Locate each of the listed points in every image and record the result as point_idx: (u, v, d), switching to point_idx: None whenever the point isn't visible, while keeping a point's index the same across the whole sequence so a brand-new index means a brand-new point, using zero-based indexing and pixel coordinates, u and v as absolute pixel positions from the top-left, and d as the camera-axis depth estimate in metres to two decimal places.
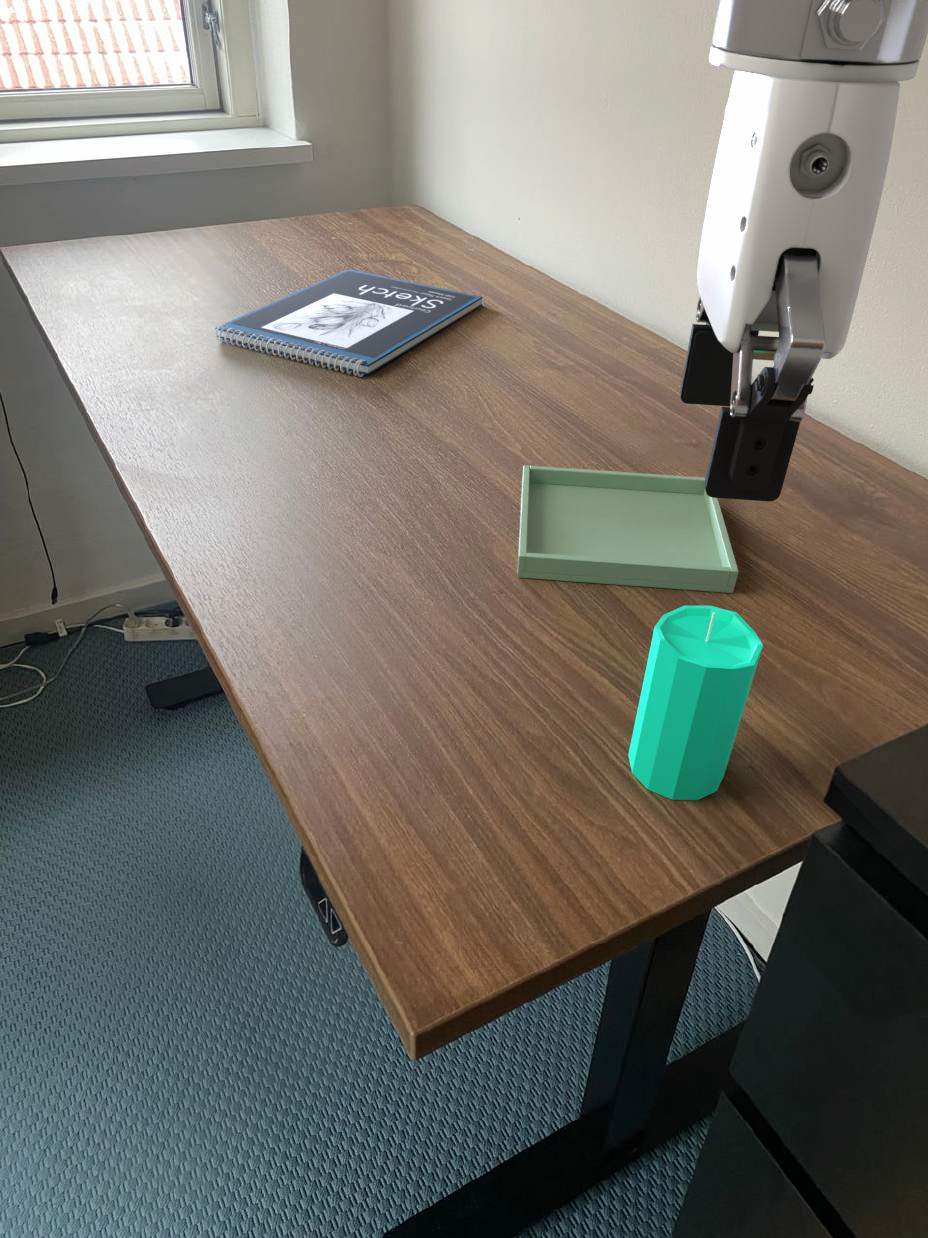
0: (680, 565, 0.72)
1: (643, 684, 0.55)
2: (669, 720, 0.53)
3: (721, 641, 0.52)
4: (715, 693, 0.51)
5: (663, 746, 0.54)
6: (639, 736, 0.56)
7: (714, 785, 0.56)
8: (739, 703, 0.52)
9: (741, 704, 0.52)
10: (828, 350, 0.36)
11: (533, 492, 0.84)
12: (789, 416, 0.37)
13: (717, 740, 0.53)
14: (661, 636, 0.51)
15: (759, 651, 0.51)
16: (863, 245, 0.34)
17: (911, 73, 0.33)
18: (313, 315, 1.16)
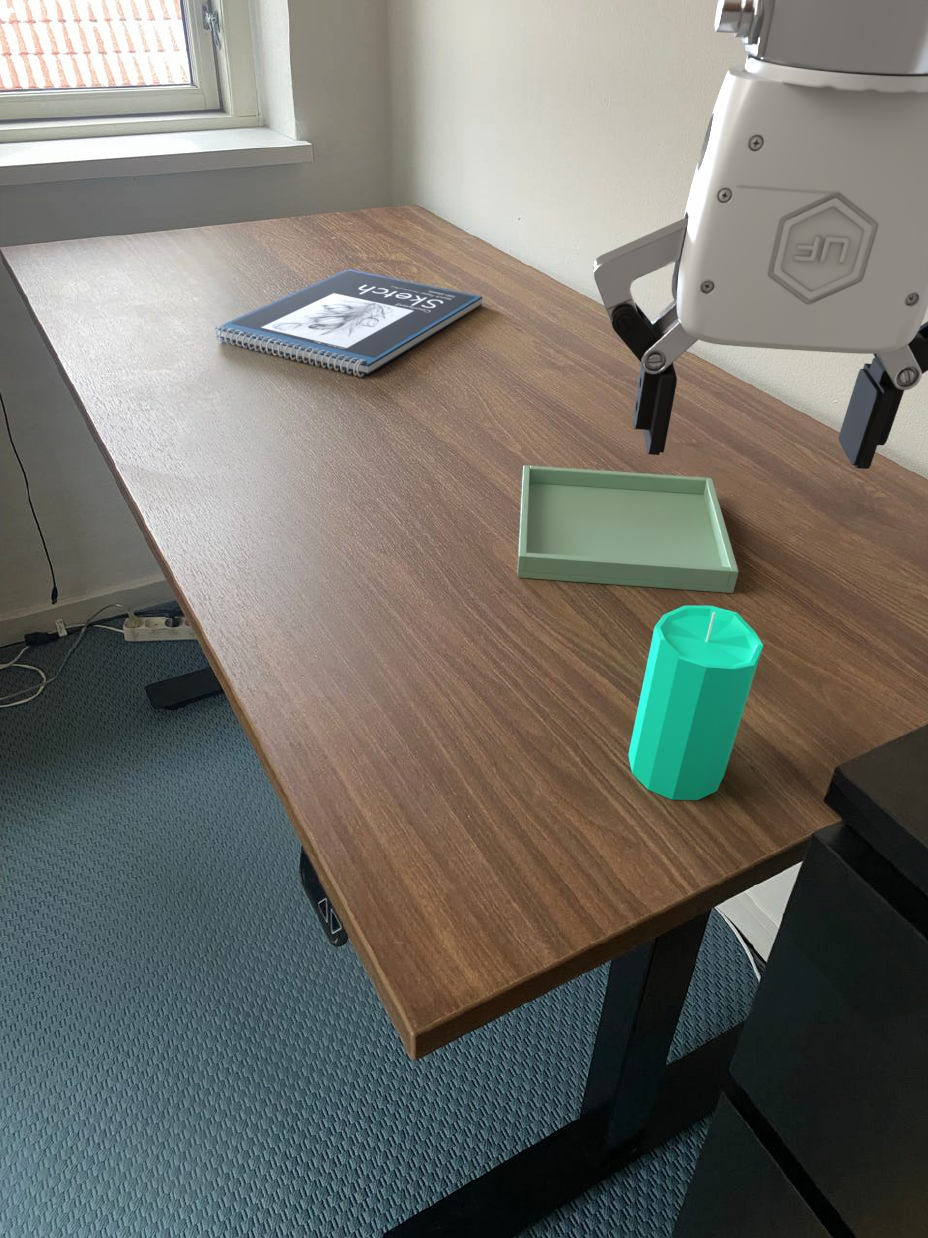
0: (680, 565, 0.72)
1: (643, 684, 0.55)
2: (669, 720, 0.53)
3: (721, 641, 0.52)
4: (715, 693, 0.51)
5: (663, 746, 0.54)
6: (639, 736, 0.56)
7: (714, 785, 0.56)
8: (739, 703, 0.52)
9: (741, 704, 0.52)
10: (680, 320, 0.39)
11: (533, 492, 0.84)
12: None
13: (717, 740, 0.53)
14: (661, 636, 0.51)
15: (759, 651, 0.51)
16: (698, 222, 0.37)
17: (806, 79, 0.33)
18: (313, 315, 1.16)
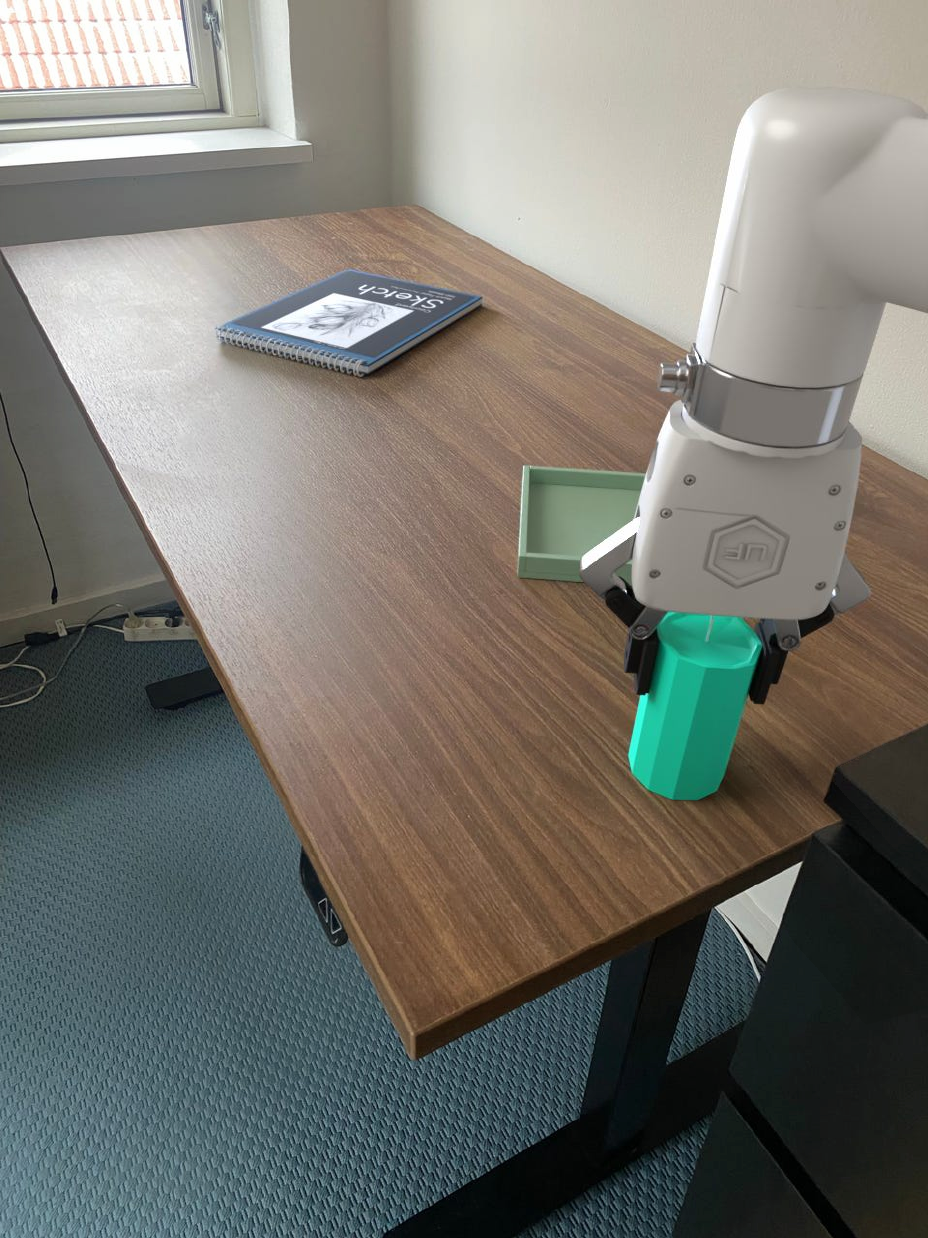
0: None
1: None
2: (669, 720, 0.53)
3: (720, 641, 0.52)
4: (714, 693, 0.51)
5: (663, 746, 0.54)
6: (639, 736, 0.56)
7: (714, 785, 0.56)
8: (738, 703, 0.52)
9: (741, 704, 0.52)
10: (634, 592, 0.48)
11: (533, 492, 0.84)
12: None
13: (717, 740, 0.53)
14: (661, 636, 0.51)
15: (759, 651, 0.51)
16: (646, 528, 0.46)
17: (726, 444, 0.42)
18: (313, 315, 1.16)
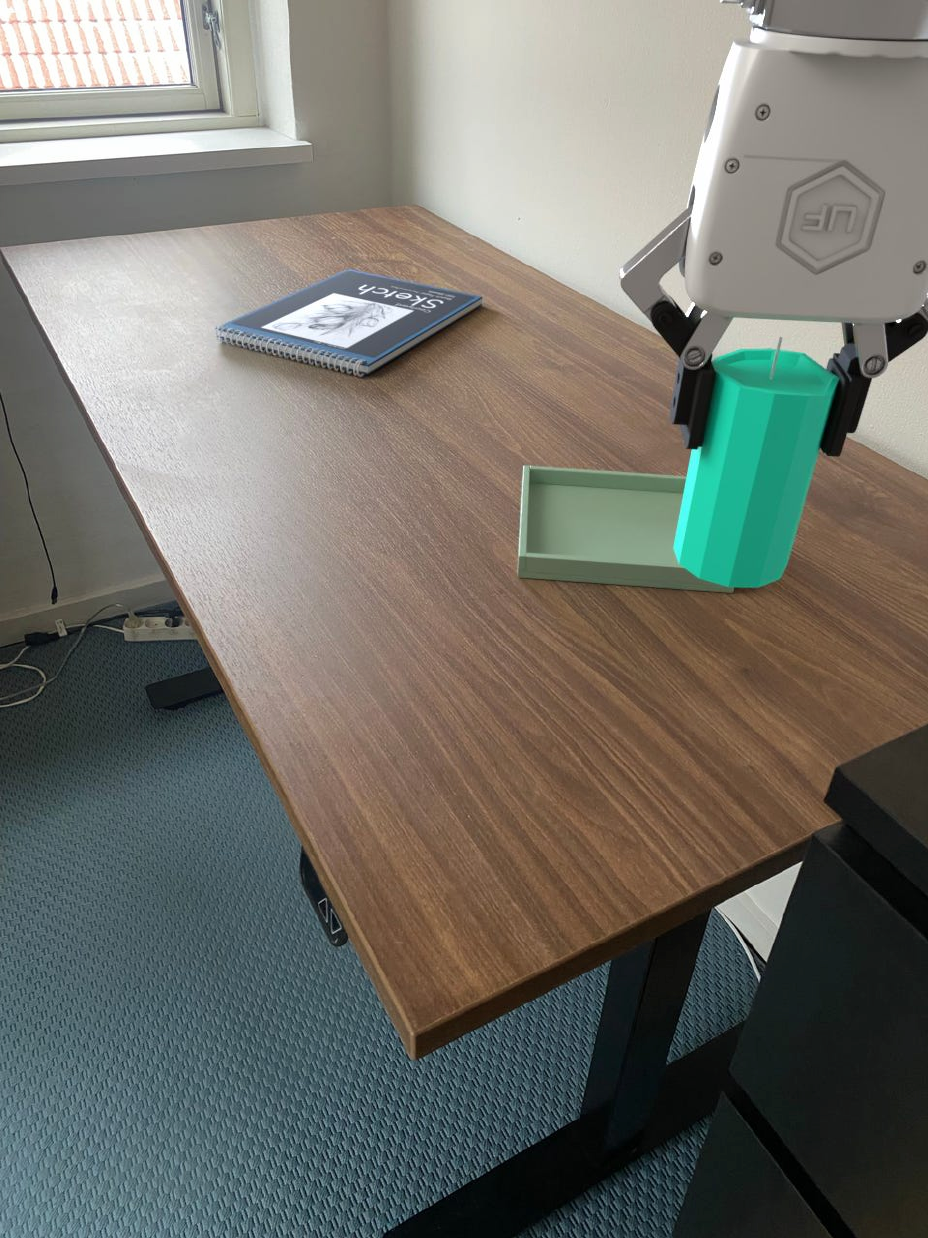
0: (680, 565, 0.72)
1: None
2: (726, 477, 0.44)
3: (788, 379, 0.44)
4: (784, 431, 0.42)
5: (719, 515, 0.46)
6: (688, 512, 0.47)
7: (778, 570, 0.48)
8: (811, 451, 0.43)
9: (813, 453, 0.44)
10: (688, 293, 0.40)
11: (533, 492, 0.84)
12: None
13: (784, 502, 0.45)
14: (717, 369, 0.43)
15: (835, 383, 0.43)
16: (706, 194, 0.37)
17: (812, 47, 0.33)
18: (313, 315, 1.16)
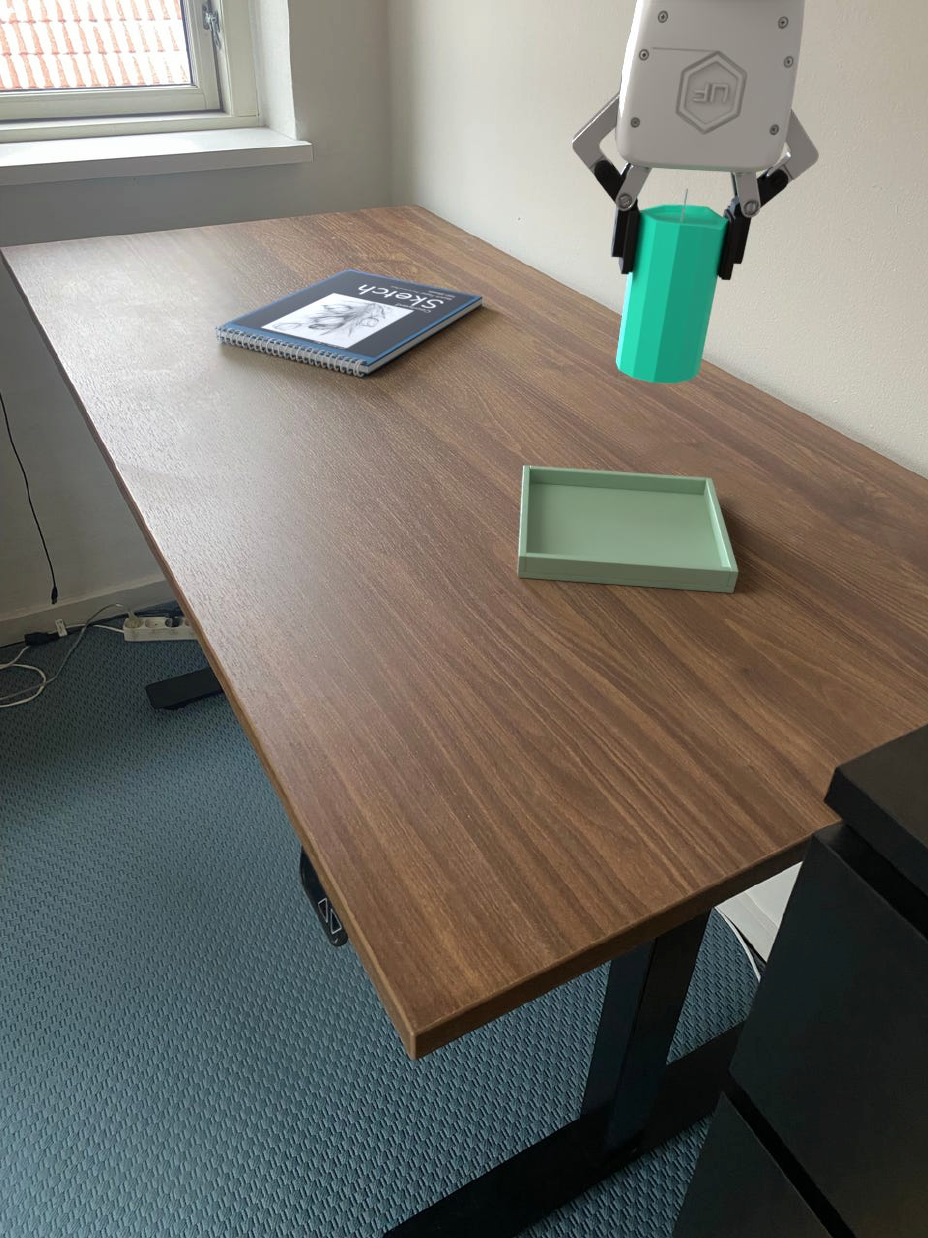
0: (680, 565, 0.72)
1: (628, 277, 0.64)
2: (649, 293, 0.62)
3: (693, 221, 0.61)
4: (688, 254, 0.59)
5: (645, 324, 0.63)
6: (624, 327, 0.65)
7: (690, 371, 0.65)
8: (709, 273, 0.61)
9: (711, 275, 0.61)
10: (618, 149, 0.57)
11: (533, 492, 0.84)
12: None
13: (691, 312, 0.62)
14: (642, 212, 0.60)
15: (725, 222, 0.60)
16: (628, 75, 0.54)
17: None
18: (313, 315, 1.16)
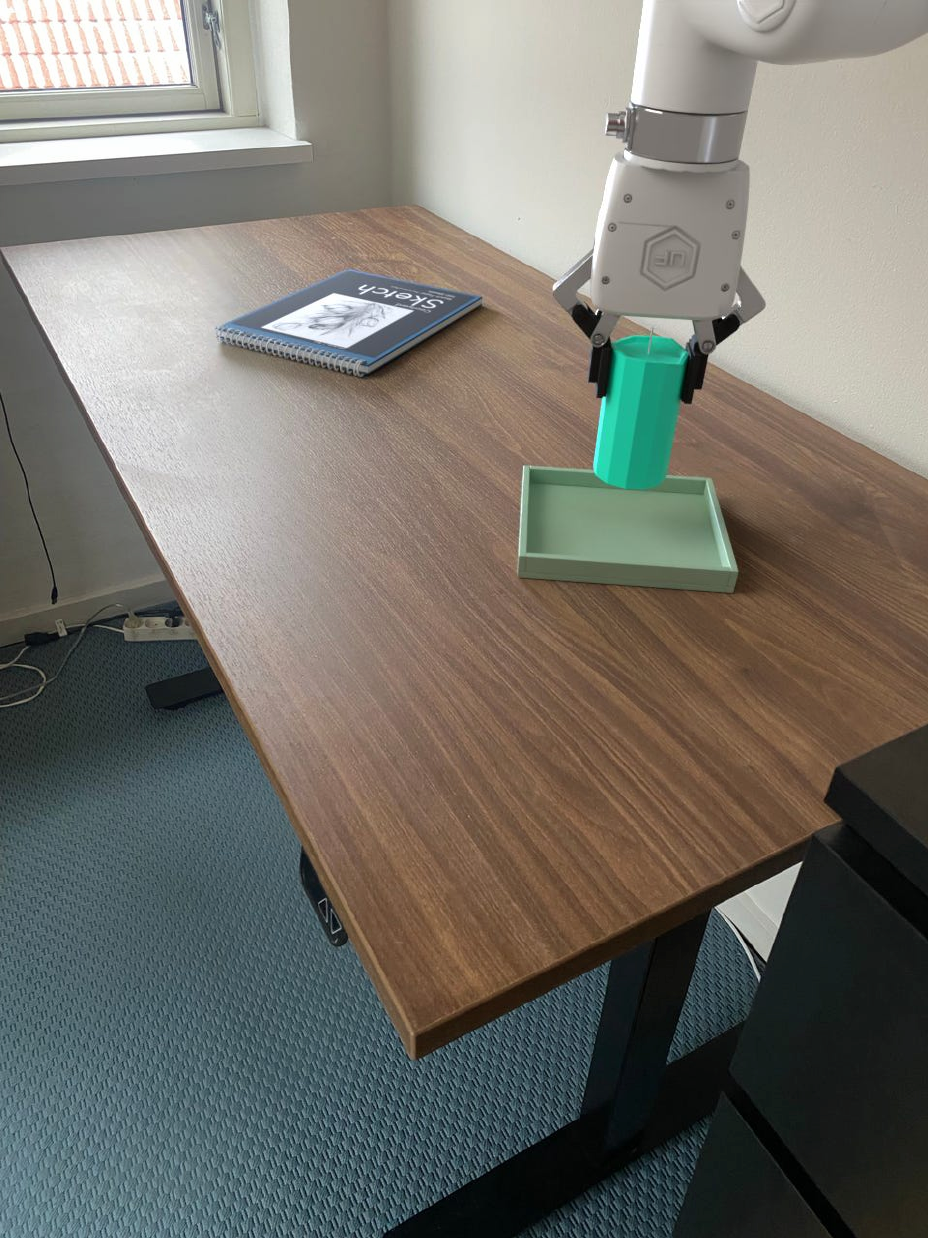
0: (680, 565, 0.72)
1: None
2: (620, 415, 0.71)
3: (659, 354, 0.70)
4: (653, 385, 0.68)
5: (617, 440, 0.72)
6: (600, 440, 0.74)
7: (657, 478, 0.74)
8: (672, 399, 0.70)
9: (674, 401, 0.70)
10: None
11: (533, 492, 0.84)
12: None
13: (657, 432, 0.71)
14: (614, 347, 0.69)
15: (686, 356, 0.69)
16: (599, 243, 0.63)
17: (652, 165, 0.59)
18: (313, 315, 1.16)
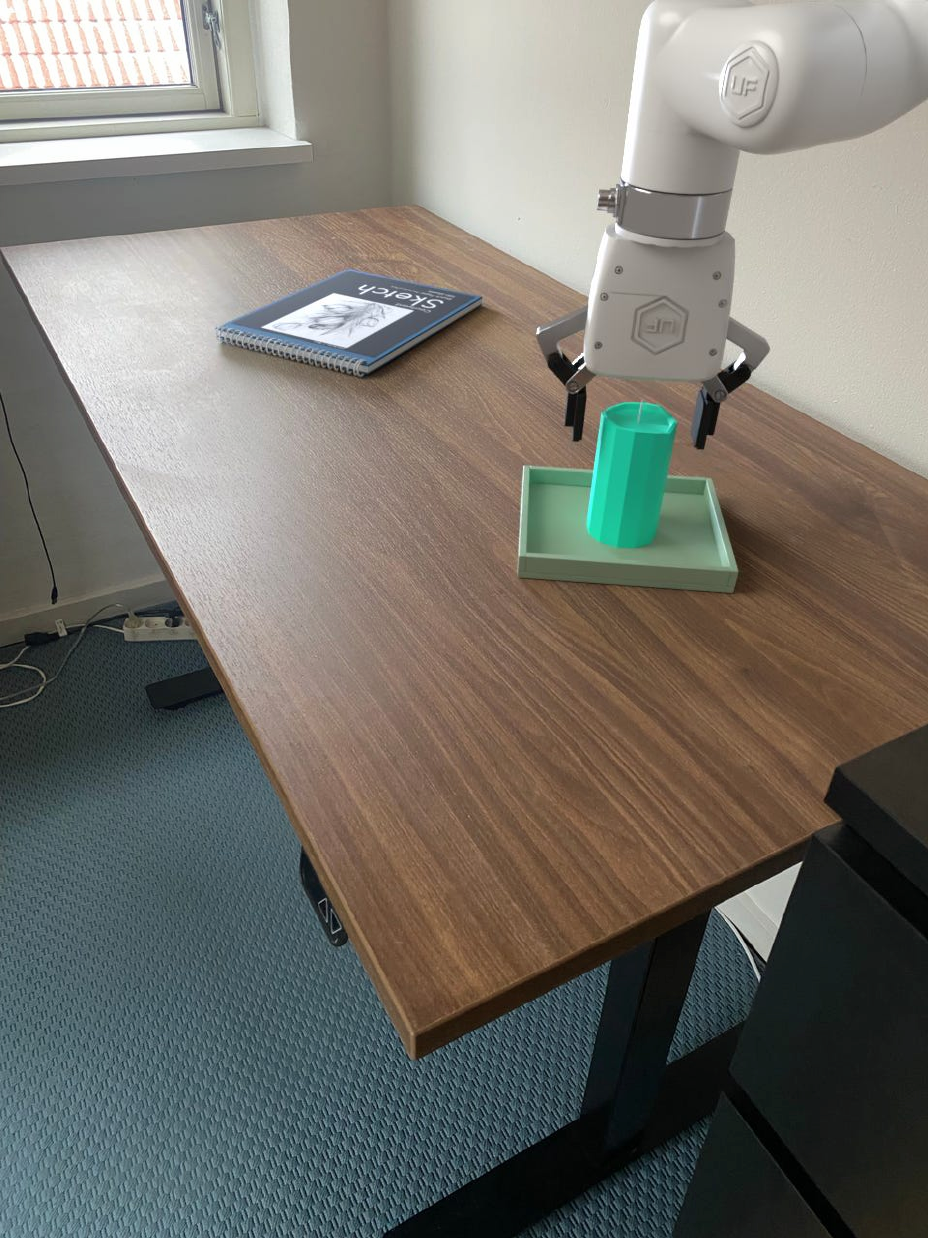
0: (680, 565, 0.72)
1: (595, 461, 0.76)
2: (611, 480, 0.74)
3: (648, 421, 0.73)
4: (642, 453, 0.72)
5: (608, 503, 0.75)
6: (592, 501, 0.77)
7: (647, 537, 0.77)
8: (661, 465, 0.73)
9: (663, 466, 0.73)
10: (585, 363, 0.69)
11: (533, 492, 0.84)
12: (563, 384, 0.71)
13: (646, 495, 0.74)
14: (605, 416, 0.72)
15: (674, 425, 0.72)
16: (591, 310, 0.66)
17: (641, 240, 0.62)
18: (313, 315, 1.16)
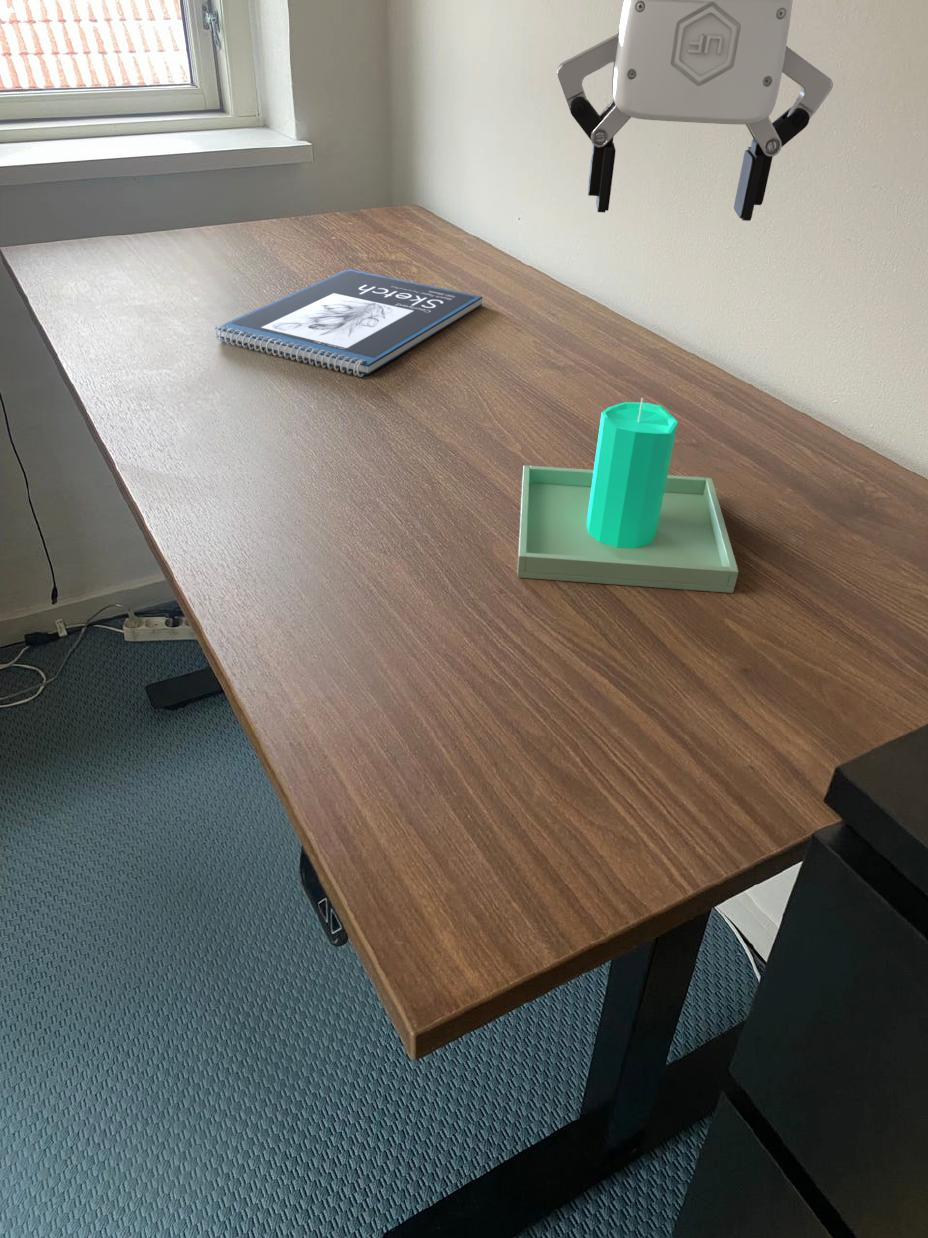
0: (680, 565, 0.72)
1: (595, 461, 0.76)
2: (612, 480, 0.74)
3: (648, 422, 0.73)
4: (642, 453, 0.72)
5: (608, 503, 0.75)
6: (592, 501, 0.77)
7: (647, 537, 0.77)
8: (661, 465, 0.73)
9: (663, 466, 0.73)
10: (615, 102, 0.58)
11: (533, 492, 0.84)
12: (588, 136, 0.61)
13: (647, 495, 0.74)
14: (605, 416, 0.72)
15: (674, 425, 0.72)
16: (624, 27, 0.56)
17: None
18: (313, 315, 1.16)
